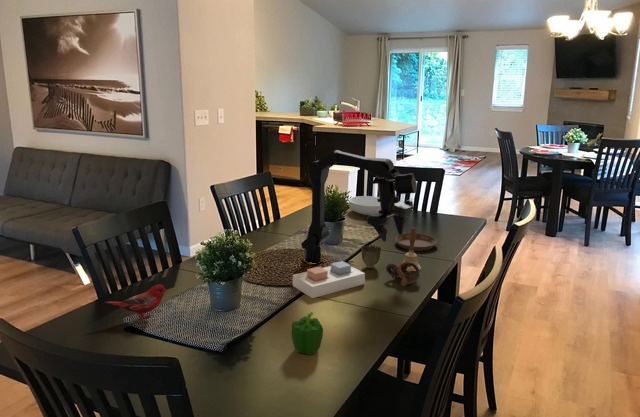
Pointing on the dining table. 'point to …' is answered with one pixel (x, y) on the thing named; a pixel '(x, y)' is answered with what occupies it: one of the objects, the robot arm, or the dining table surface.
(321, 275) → the terracotta key
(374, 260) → the cup
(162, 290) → the decorative bird figurine
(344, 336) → the dining table surface
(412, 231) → the hand bell
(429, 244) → the plant saucer
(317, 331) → the bell pepper
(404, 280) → the pottery mug
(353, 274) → the key panel
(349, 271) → the blue key
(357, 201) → the serving bowl
